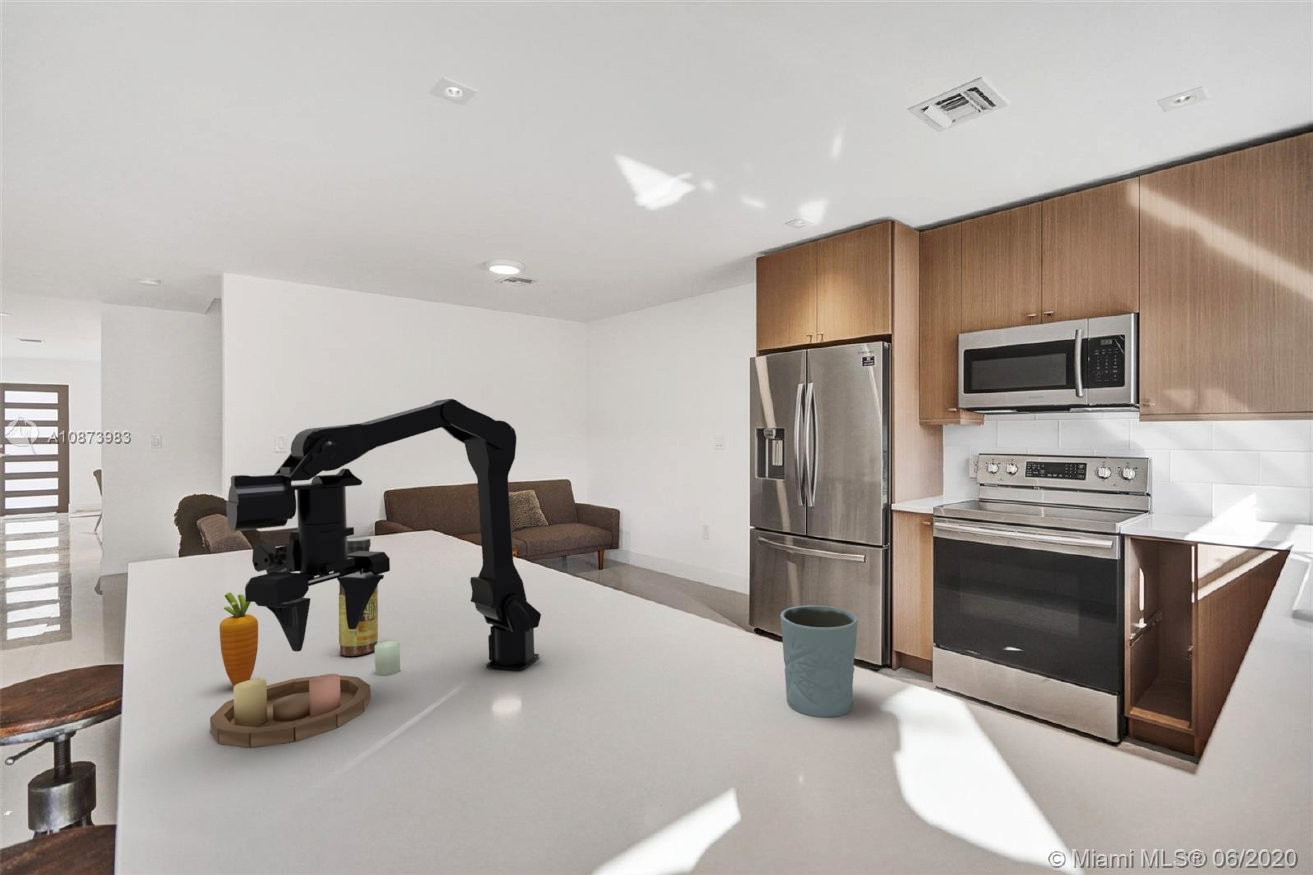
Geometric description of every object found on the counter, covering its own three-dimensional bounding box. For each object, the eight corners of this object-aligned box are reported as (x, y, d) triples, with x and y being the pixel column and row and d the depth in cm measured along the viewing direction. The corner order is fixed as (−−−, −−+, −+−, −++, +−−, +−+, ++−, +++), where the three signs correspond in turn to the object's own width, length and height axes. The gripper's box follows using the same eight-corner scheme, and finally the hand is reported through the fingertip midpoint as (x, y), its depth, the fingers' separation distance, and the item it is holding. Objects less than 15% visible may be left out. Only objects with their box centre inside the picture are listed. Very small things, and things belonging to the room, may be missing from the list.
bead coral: (347, 712, 85) (346, 674, 85) (326, 724, 81) (325, 685, 81) (324, 709, 86) (323, 672, 86) (303, 721, 82) (302, 683, 82)
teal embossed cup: (808, 683, 92) (806, 601, 92) (874, 703, 85) (871, 613, 85) (767, 705, 85) (765, 616, 85) (835, 728, 78) (832, 631, 78)
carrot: (267, 688, 96) (264, 589, 96) (234, 701, 92) (231, 597, 92) (246, 683, 98) (244, 586, 98) (213, 695, 94) (210, 594, 94)
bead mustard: (274, 717, 84) (272, 680, 84) (249, 730, 80) (248, 690, 80) (252, 715, 85) (251, 678, 85) (227, 727, 81) (226, 688, 81)
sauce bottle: (363, 658, 108) (359, 542, 108) (331, 657, 109) (327, 542, 109) (386, 646, 115) (383, 536, 115) (356, 644, 116) (353, 536, 116)
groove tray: (396, 697, 91) (396, 680, 91) (294, 760, 74) (294, 739, 74) (295, 687, 96) (294, 671, 96) (177, 744, 79) (176, 724, 79)
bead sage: (405, 672, 101) (404, 641, 101) (390, 681, 98) (389, 649, 98) (386, 671, 102) (385, 640, 102) (370, 679, 99) (369, 647, 99)
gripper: (329, 512, 95) (332, 616, 95) (208, 531, 78) (212, 659, 78) (390, 513, 92) (394, 620, 92) (279, 533, 74) (283, 666, 74)
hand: (326, 639), depth 84 cm, fingers open, 9 cm apart
